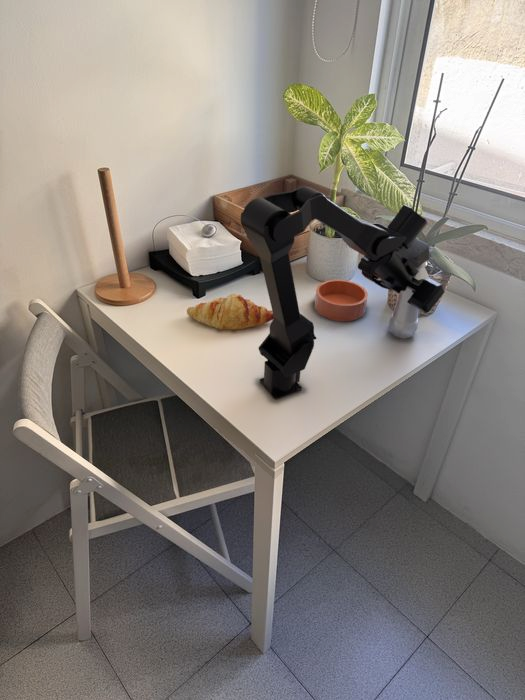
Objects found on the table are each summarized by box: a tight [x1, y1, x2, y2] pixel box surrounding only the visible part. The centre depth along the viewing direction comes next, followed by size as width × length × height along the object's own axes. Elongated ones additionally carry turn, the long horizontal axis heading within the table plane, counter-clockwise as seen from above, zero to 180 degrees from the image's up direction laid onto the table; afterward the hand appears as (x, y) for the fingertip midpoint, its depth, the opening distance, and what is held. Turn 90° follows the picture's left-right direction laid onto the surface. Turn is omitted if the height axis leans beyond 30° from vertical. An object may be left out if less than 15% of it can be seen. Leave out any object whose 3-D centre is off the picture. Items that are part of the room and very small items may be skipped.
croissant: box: [186, 293, 274, 330], centre depth 120 cm, size 21×10×8 cm, turn 87°
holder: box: [314, 279, 369, 322], centre depth 127 cm, size 13×13×4 cm
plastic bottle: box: [388, 260, 430, 339], centre depth 114 cm, size 6×7×20 cm
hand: (413, 297), depth 115 cm, fingers closed on plastic bottle, 6 cm apart
